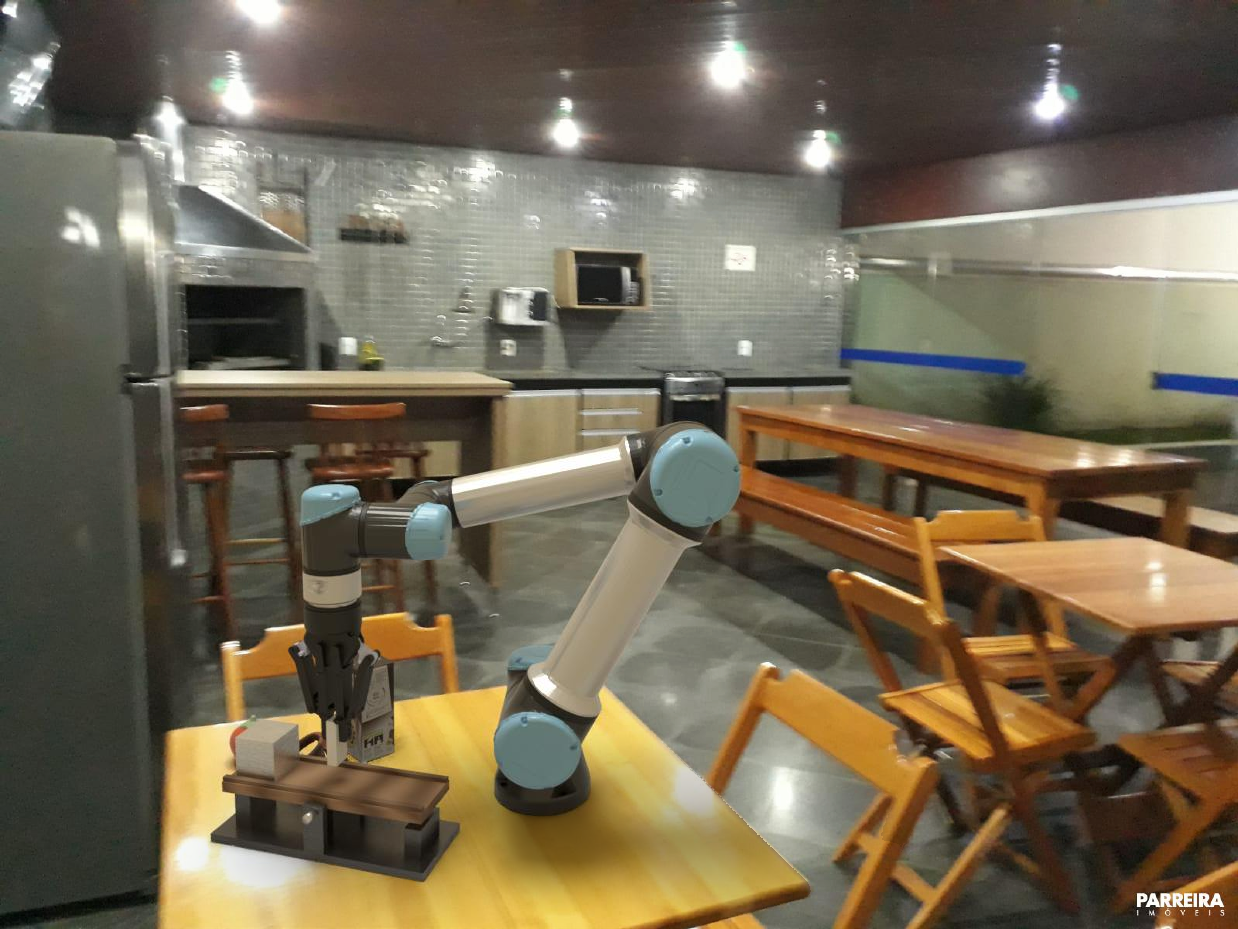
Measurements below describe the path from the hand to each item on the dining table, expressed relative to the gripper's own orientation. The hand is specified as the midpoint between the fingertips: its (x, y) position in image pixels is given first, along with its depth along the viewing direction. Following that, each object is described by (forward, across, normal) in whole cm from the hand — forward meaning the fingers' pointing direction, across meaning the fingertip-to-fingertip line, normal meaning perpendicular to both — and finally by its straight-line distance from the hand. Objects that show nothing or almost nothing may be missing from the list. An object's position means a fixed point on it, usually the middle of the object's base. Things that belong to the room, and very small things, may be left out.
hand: (337, 761), depth 121 cm
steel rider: (+3, -11, 0) cm, 11 cm away
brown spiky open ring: (+12, -11, +14) cm, 22 cm away
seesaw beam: (+4, 0, 0) cm, 4 cm away
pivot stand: (+11, 0, 0) cm, 11 cm away
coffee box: (+12, -9, +24) cm, 28 cm away
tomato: (+12, -24, +15) cm, 31 cm away
